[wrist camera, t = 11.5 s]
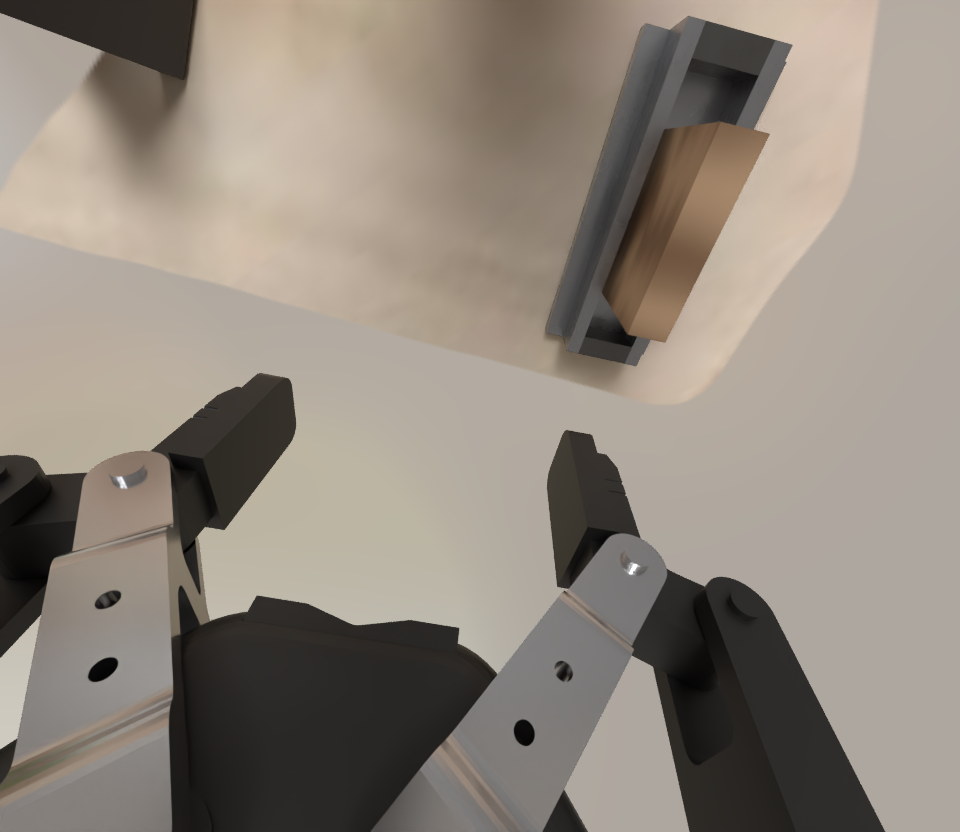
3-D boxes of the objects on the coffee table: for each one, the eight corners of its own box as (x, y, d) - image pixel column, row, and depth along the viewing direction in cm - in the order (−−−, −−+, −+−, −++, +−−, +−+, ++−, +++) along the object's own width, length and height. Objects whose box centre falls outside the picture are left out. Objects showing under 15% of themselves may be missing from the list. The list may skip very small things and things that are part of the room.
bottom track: (641, 27, 24) (661, 8, 21) (777, 65, 25) (818, 51, 21) (545, 328, 35) (548, 346, 32) (640, 349, 36) (653, 369, 33)
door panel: (661, 129, 26) (720, 121, 19) (696, 138, 26) (769, 133, 19) (601, 291, 32) (627, 334, 25) (630, 298, 32) (665, 342, 25)
